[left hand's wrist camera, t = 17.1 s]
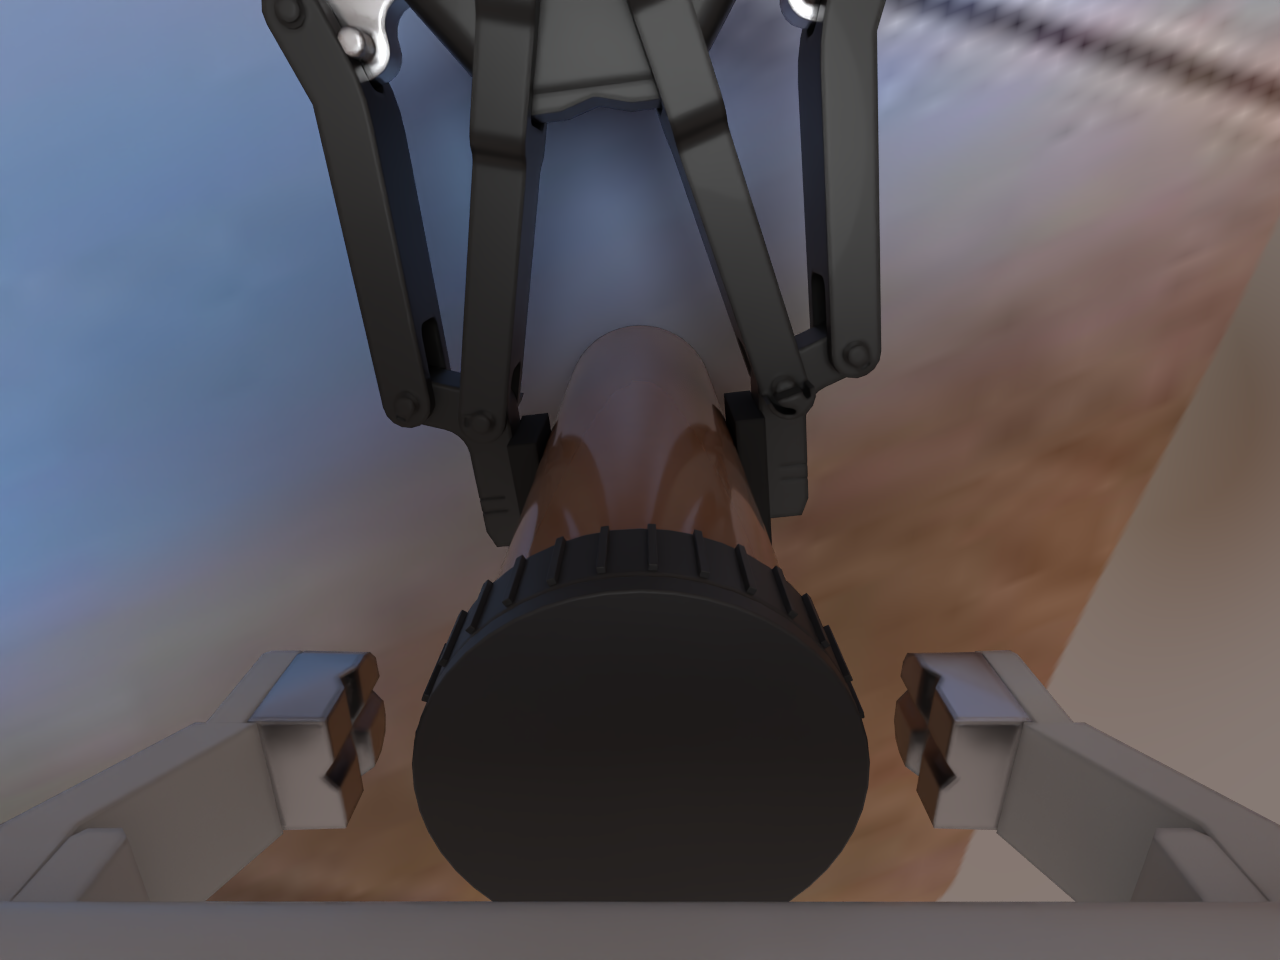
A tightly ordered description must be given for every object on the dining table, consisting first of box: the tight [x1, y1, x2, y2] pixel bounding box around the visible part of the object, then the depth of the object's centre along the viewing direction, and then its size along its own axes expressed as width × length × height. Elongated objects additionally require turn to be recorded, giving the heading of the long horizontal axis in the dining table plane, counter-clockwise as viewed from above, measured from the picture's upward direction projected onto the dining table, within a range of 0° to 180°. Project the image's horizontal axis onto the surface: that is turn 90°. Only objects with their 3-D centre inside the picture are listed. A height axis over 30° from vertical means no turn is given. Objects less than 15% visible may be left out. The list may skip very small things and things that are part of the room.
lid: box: [412, 524, 870, 902], centre depth 10 cm, size 6×6×2 cm
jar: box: [497, 326, 780, 579], centre depth 18 cm, size 5×5×18 cm
